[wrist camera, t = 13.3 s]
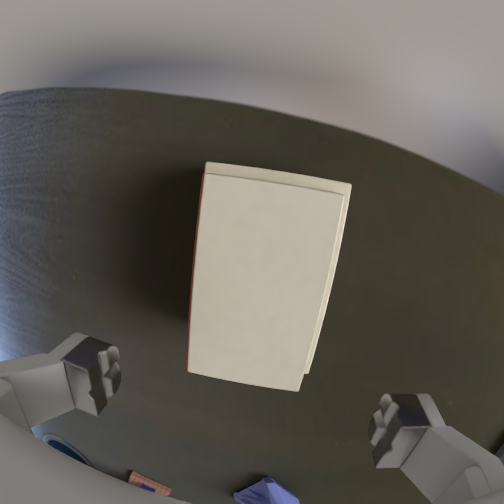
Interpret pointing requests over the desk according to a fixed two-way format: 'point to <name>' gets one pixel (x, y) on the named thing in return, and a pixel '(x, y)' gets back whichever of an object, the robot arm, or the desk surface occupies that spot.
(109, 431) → the desk surface
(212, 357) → the cream book
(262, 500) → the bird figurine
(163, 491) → the figurine
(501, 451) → the grey pile
